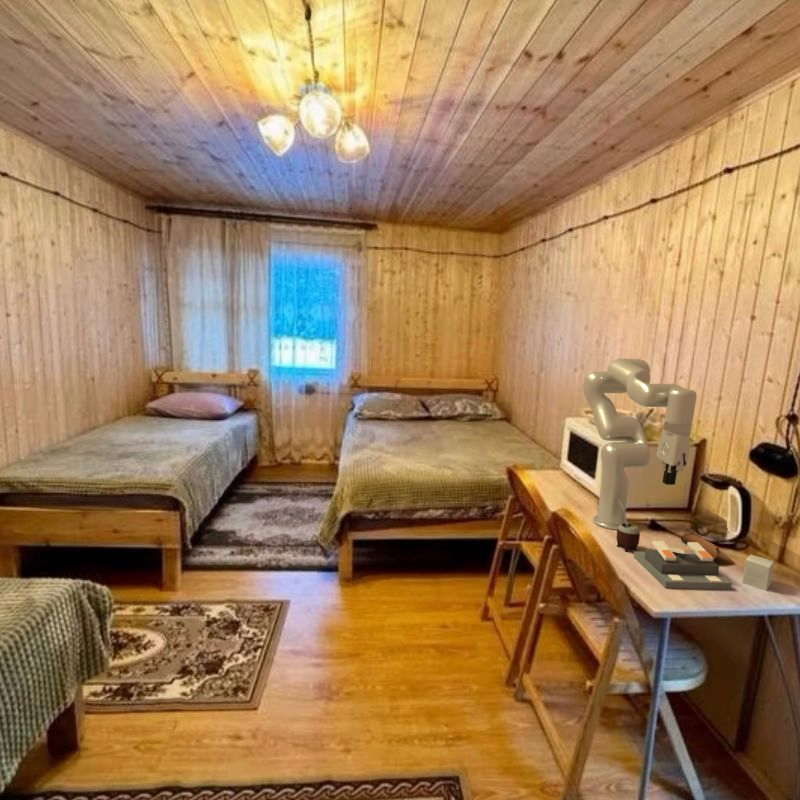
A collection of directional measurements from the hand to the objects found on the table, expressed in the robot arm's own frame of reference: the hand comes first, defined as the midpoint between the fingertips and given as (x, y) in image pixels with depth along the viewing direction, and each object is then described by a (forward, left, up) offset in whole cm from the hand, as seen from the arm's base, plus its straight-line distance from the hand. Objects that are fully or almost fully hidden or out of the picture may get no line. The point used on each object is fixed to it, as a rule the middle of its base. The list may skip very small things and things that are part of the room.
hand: (668, 483), depth 158 cm
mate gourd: (-7, -8, -25) cm, 27 cm away
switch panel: (+10, +1, -25) cm, 27 cm away
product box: (+15, +21, -25) cm, 36 cm away
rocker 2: (+10, +6, -20) cm, 23 cm away
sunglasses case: (-5, +19, -26) cm, 32 cm away
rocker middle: (+10, +1, -20) cm, 22 cm away
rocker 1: (+10, -5, -20) cm, 22 cm away
